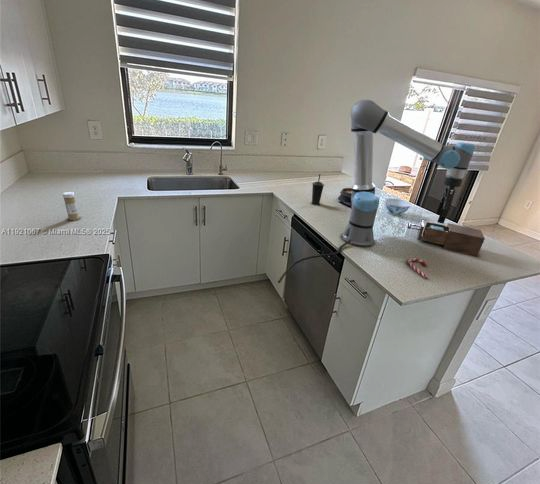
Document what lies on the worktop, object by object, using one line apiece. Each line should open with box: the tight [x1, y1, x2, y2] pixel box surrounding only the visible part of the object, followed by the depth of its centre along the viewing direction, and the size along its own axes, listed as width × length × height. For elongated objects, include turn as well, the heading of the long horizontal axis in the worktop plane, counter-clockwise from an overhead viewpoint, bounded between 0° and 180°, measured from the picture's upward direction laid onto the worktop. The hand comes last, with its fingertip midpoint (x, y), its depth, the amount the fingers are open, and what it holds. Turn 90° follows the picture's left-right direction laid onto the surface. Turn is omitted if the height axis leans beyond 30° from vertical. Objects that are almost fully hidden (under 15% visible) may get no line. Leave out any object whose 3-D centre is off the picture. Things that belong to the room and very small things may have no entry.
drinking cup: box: [311, 173, 325, 206], centre depth 188 cm, size 8×8×20 cm
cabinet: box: [442, 222, 486, 257], centre depth 144 cm, size 15×12×10 cm
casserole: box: [337, 187, 352, 207], centre depth 198 cm, size 25×19×8 cm
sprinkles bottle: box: [62, 191, 80, 221], centre depth 141 cm, size 5×5×13 cm
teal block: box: [430, 225, 444, 230], centre depth 148 cm, size 4×6×6 cm
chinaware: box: [384, 198, 411, 217], centre depth 184 cm, size 15×15×8 cm
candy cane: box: [407, 257, 428, 279], centre depth 123 cm, size 8×1×15 cm
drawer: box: [407, 219, 449, 246], centre depth 150 cm, size 19×10×8 cm, turn 64°
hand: (439, 218), depth 145 cm, fingers open, 13 cm apart
